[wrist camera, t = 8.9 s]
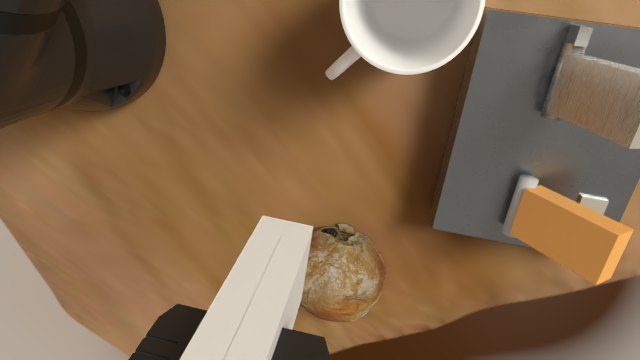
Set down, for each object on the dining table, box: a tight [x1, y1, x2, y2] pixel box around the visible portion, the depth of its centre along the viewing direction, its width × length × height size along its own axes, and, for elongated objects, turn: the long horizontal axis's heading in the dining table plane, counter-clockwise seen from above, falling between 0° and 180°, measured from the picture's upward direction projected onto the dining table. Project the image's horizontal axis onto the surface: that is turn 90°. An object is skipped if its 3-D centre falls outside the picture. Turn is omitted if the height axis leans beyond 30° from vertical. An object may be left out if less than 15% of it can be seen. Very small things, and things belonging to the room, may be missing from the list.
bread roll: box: [300, 224, 386, 322], centre depth 45 cm, size 10×10×8 cm
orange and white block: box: [502, 174, 634, 285], centre depth 33 cm, size 2×5×8 cm
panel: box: [431, 7, 640, 248], centre depth 33 cm, size 14×18×12 cm
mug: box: [325, 0, 485, 80], centre depth 31 cm, size 12×8×12 cm
